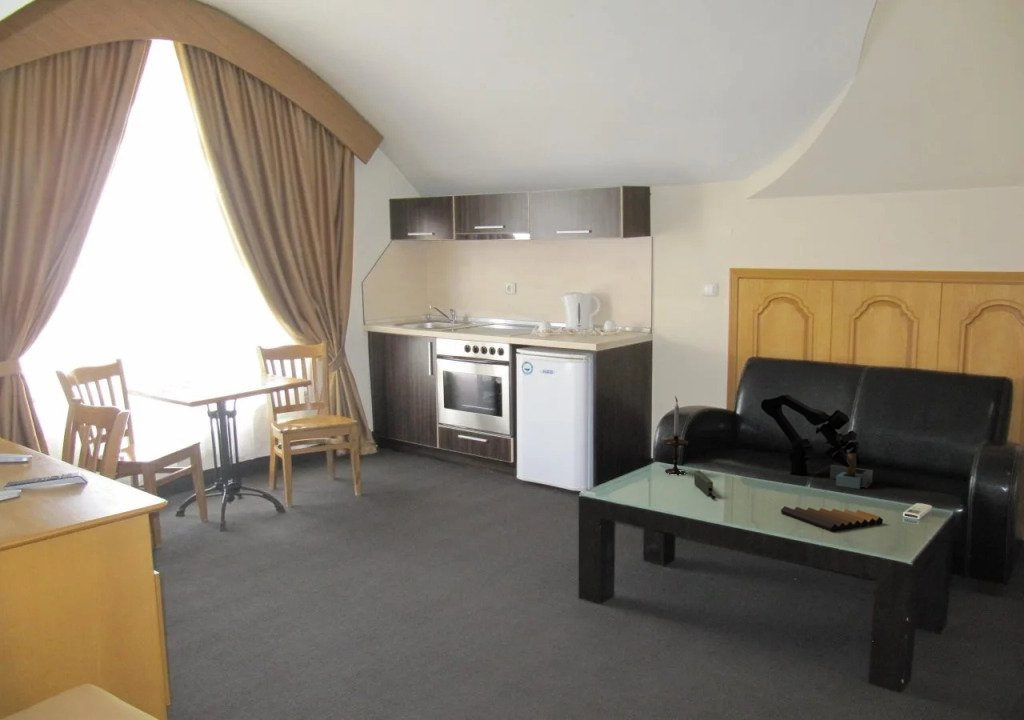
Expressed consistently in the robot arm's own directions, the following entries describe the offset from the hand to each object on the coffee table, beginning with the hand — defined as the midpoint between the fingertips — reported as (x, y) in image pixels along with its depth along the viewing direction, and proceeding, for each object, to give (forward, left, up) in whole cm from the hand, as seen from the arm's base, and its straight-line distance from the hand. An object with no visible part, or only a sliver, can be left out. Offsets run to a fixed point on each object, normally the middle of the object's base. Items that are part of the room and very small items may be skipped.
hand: (854, 465), depth 368 cm
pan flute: (+6, -58, -9) cm, 59 cm away
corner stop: (-3, +3, -9) cm, 9 cm away
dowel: (-1, 0, -8) cm, 8 cm away
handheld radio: (-46, -49, -9) cm, 68 cm away
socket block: (-1, 0, -9) cm, 9 cm away
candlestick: (-71, -24, -9) cm, 76 cm away
